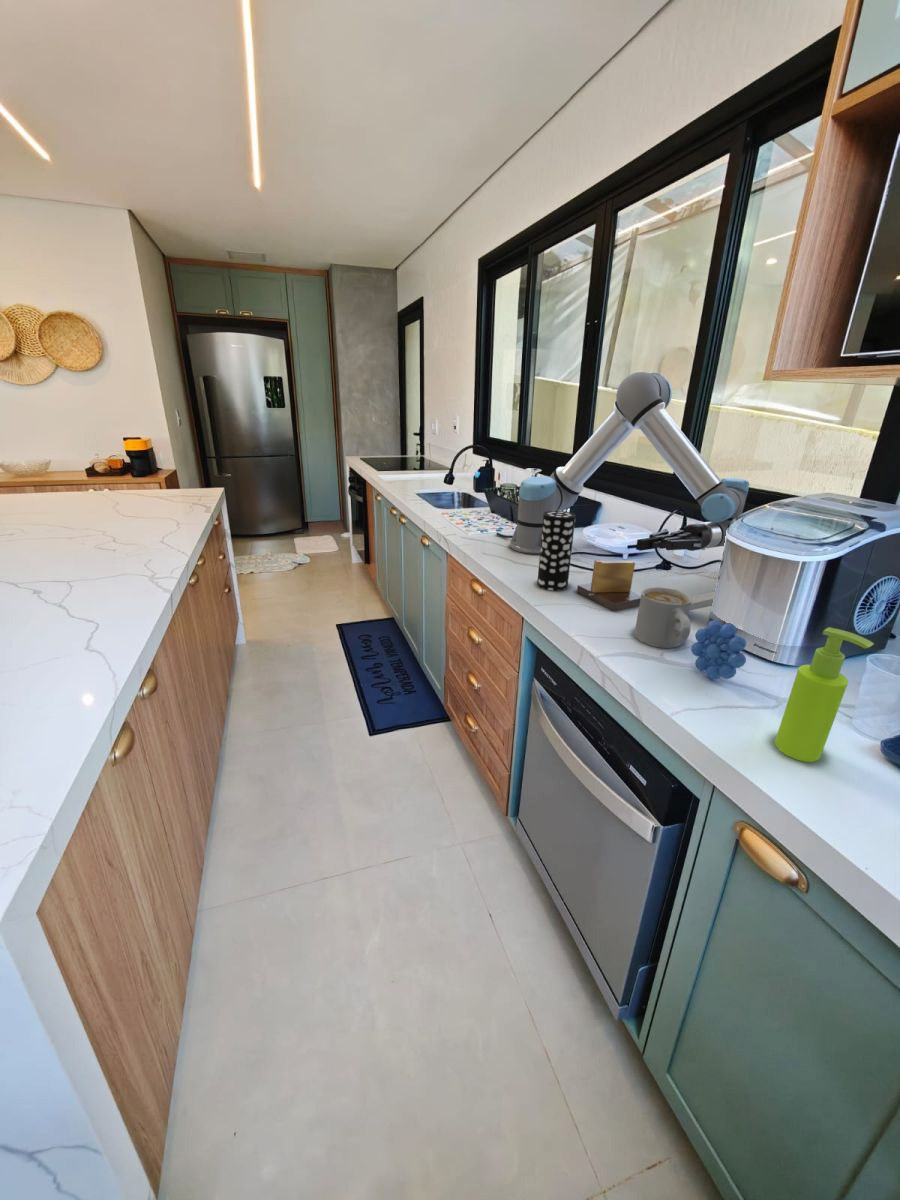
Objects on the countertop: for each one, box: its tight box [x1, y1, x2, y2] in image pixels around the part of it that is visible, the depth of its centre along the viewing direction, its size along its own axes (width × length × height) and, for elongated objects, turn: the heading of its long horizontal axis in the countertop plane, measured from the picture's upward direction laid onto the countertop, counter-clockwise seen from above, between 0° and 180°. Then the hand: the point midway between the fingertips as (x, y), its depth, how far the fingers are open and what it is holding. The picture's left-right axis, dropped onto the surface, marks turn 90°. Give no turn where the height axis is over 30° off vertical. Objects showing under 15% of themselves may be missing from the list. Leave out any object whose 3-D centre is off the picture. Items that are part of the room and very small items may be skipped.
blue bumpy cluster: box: [690, 619, 747, 680], centre depth 93 cm, size 12×7×12 cm, turn 17°
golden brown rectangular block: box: [590, 559, 636, 592], centre depth 130 cm, size 10×2×8 cm, turn 95°
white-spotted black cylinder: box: [536, 510, 577, 592], centre depth 136 cm, size 8×8×20 cm
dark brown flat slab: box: [576, 581, 641, 612], centre depth 132 cm, size 14×14×2 cm
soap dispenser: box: [774, 626, 875, 763], centre depth 72 cm, size 6×7×20 cm
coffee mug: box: [633, 586, 692, 649], centre depth 108 cm, size 13×10×10 cm
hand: (638, 545), depth 134 cm, fingers closed
